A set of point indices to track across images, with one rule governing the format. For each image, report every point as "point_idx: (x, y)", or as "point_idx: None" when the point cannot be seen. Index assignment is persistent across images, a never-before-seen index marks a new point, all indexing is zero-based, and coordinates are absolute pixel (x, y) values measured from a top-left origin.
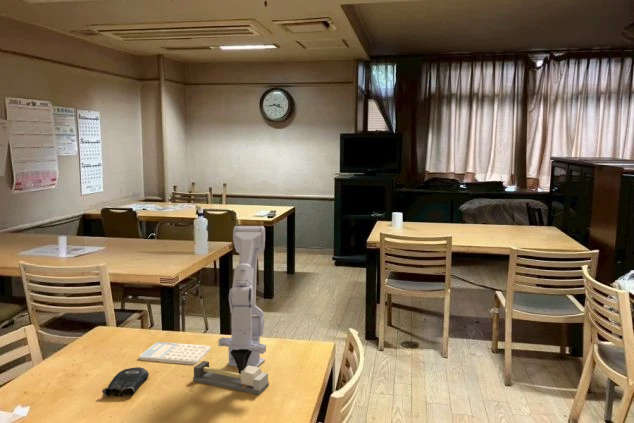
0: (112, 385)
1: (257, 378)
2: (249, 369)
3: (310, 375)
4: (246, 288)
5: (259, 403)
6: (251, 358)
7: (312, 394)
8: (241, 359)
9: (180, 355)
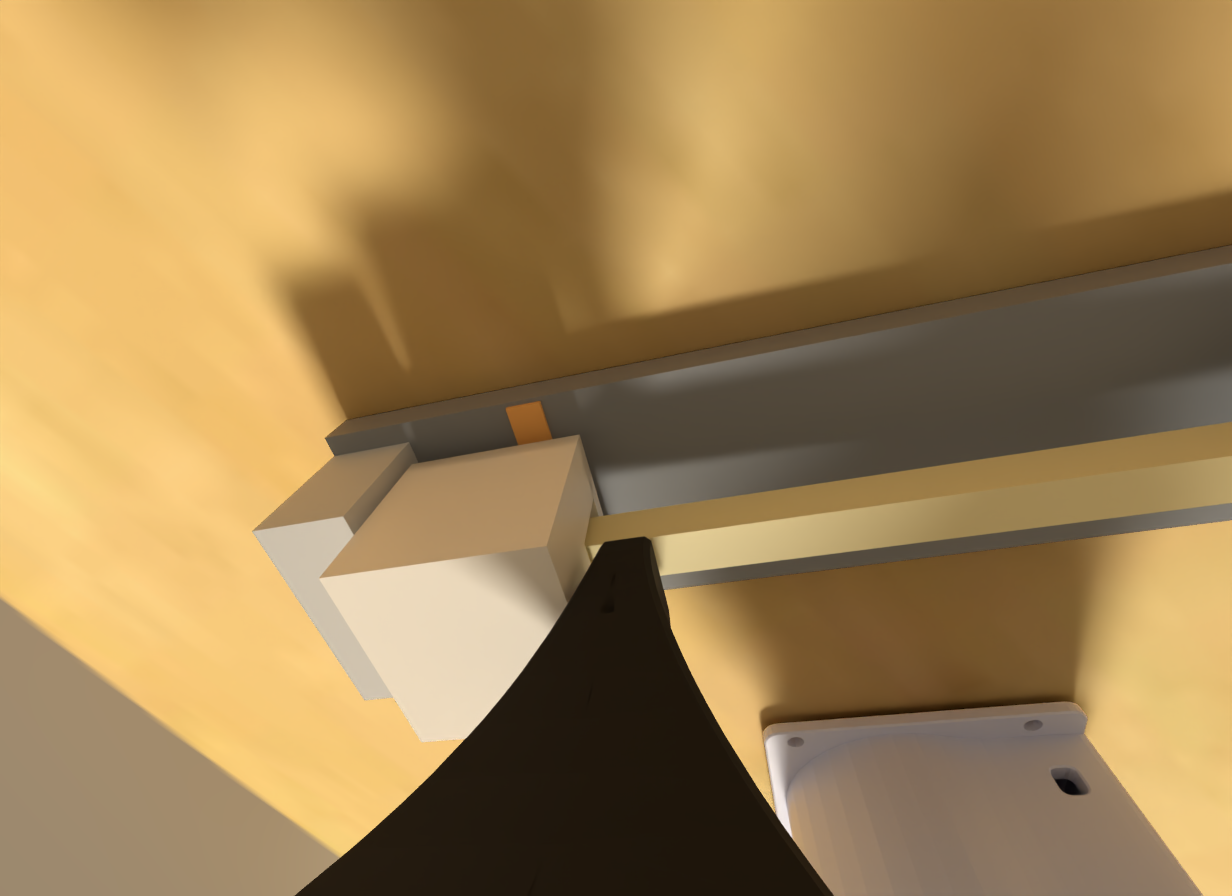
0: None
1: (328, 558)
2: (495, 652)
3: (349, 809)
4: None
5: (173, 278)
6: (833, 843)
7: (80, 642)
8: (462, 789)
9: None
